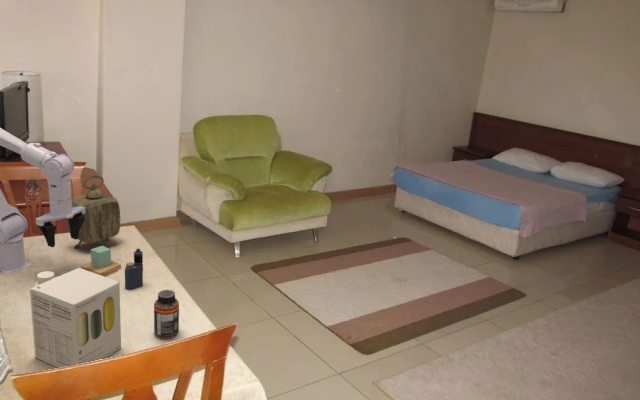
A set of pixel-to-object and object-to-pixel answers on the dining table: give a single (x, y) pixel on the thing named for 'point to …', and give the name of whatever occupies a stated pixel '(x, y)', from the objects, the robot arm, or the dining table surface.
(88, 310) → the supplement box
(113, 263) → the top slab
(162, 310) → the supplement bottle
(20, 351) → the dining table surface
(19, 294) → the dining table surface
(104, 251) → the block
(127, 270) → the vaping device
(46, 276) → the pill bottle
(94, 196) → the tabletop clock
